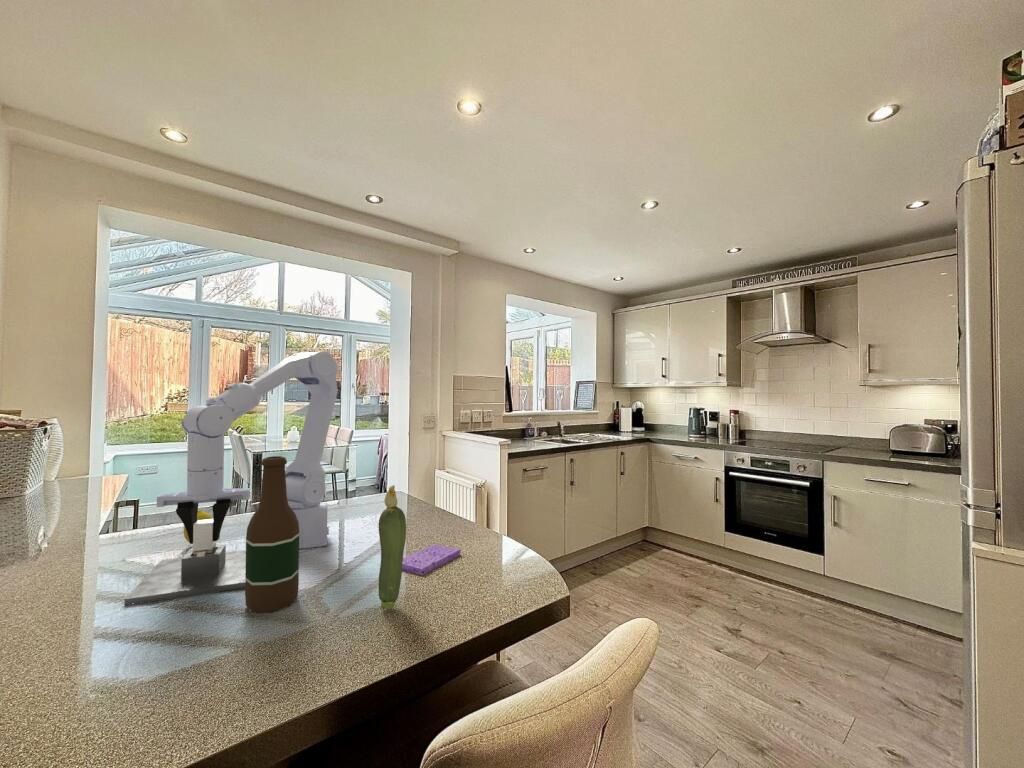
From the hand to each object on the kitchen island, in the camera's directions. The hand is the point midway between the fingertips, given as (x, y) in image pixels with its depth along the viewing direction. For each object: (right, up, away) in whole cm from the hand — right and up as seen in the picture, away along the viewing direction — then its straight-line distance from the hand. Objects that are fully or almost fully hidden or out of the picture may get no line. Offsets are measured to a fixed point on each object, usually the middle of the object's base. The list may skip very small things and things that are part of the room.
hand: (204, 540), depth 84 cm
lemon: (-12, -7, +15) cm, 21 cm away
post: (0, -4, 0) cm, 4 cm away
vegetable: (+39, -7, -12) cm, 41 cm away
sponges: (+41, -8, +8) cm, 42 cm away
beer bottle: (+19, -7, -11) cm, 22 cm away
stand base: (0, -7, 0) cm, 6 cm away
